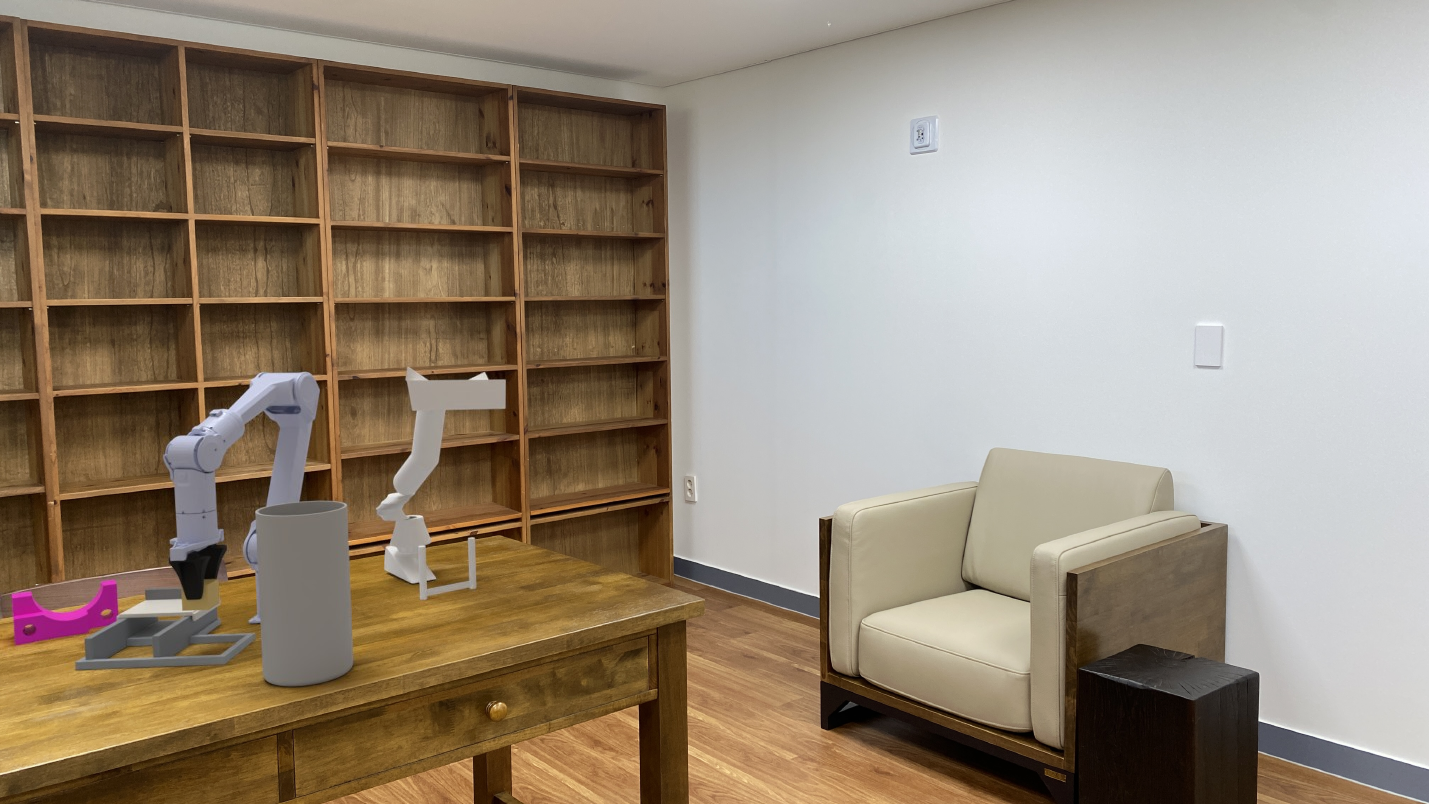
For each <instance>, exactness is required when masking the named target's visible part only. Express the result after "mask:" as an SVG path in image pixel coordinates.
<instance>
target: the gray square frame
mask: <svg viewBox="0 0 1429 804" xmlns="http://www.w3.org/2000/svg"><path fill="white" fill-rule="evenodd" d="M221 622H222V621H221V618H218V606H217V607H216V608H214V609H213V610H211V611H210V612H208V613H207V614H205V615H204V616H202V617H200V618H199V619H197V620H196V621H193V618H192V616H182V617H181V618H179V619H163V620H162V619H161V620H159V617H136V618H121V619H119V620H118V621H116V622H114V623H112V624H110V625H109V626H104V627H103V628H101V629H99V630H98V631H96V632H93V633H92V634H90V635H88V636H87V637H84V640H83V641H84V653H85V654H84V655H85V656H83V657H82V658H79V659H78V660H77V661H74V667H75V671H78V670H79V671H80V670H84V671H85V670H104V669H105V670H106V669H107V670H108V669H133V668H134V669H137V668H157V667H158V668H161V667H162V668H163V667H186V666H187V667H189V666H190V667H192V666H193V667H194V666H213V665H214V666H216V665H218V666H219V665H226V664H227V663H228V662H230V661H231V660H232V659H233V658H235V657H236V656H237V655H238V654H240V652H242V651H243V650H245V648H246V647H248V646H249V645H250V644H252V643H253V642H254V641H255V640H256V633H255V632H250V633H249V632H247V633H245V632H242V633H216V634H215V633H214V634H213V633H211V634H209V633H210V632H212V631H214V629H216V628H218V627H219V626H221ZM221 643H222V644H223V643H234V644H232V645H231V646H230V647H229V648H227V649H226V650H225V651H224V652H222V653H221V654H209V655H205V654H204V655H203V654H202V655H180V656H179V655H178V656H176V654H178V653H179V652H182V650H184V649H185V648H187V647H188V646H190V645H200V644H221ZM144 646H145V647H148V646H151V647H152V656H153V657H150V656H149V657H127V658H126V657H125V658H124V657H123V658H110V657H112V656H114V655H115V654H117V653H119V652H121V651H122V650H123V649H125V648H127V647H144Z"/></svg>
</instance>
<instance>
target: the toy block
mask: <svg viewBox="0 0 1429 804" xmlns="http://www.w3.org/2000/svg"><path fill="white" fill-rule="evenodd" d="M11 602H12V603H11V604H12V618H13V619H12V620H13V634H14V645H15V646H20V645H25V644H27V645H28V644H32V643H36V642H41V641H42V642H43V641H47V640H51V639H52V640H53V639H59V638H65V637H71V636H76V635H83V634H89V633H90V629H96V628H102V627H103V628H104V627H107V626H109V625H110V624H112V623H114V622H116V621H117V616H118V615H119V598H118V583H117V582H116V580H115V579H111V580H110V579H109V580H102V581H101V582H100V587H99V590H98V592H97V593H96V595H95V597H93V598H92V599H91V601H89V602H88V603H87V604H86V605H84V606H83V607H80V608H78V609H75V610H71V611H66V612H58V611H53V610H49V609H46V608H44V607H43V606H41V605H40V604H39V603H38V601H36V600H35V599H34V597H33V594H32V591H31V590H30V591H22V592H16V593H11ZM106 610H109V611H110V612H109V613H107V614H105V615H103V614H102V613H103V612H104V611H106Z"/></svg>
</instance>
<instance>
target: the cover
mask: <svg viewBox="0 0 1429 804" xmlns="http://www.w3.org/2000/svg"><path fill="white" fill-rule="evenodd" d="M144 596H145V600H144V601H141V602H140V603H138V604H135V605H134V606H131V607H130V608H128V609H126V610H125V611H123V612H121V613H118V616H117V621H118V620H119V619H121V618H136V617H158V618H159V617H161V618H162V617H164V618H165V617H184V616H192V618H193V621H196V620H197V619H199V618H200V617H202V616H204V615H205V614H207V613H208V612H210V611H211V610H213V609H214V608H216V607H217V608H218V607H219V606H220V605H221V604H222V603H221V597H219V602H220V603H219V604H218V605H216V606H214V607H213V608H211V609H209V610H191V611H182V593H181V586H179V587H178V586H177V587H176V586H175V587H148V588H146V589H144Z"/></svg>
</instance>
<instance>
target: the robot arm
mask: <svg viewBox="0 0 1429 804" xmlns="http://www.w3.org/2000/svg"><path fill="white" fill-rule="evenodd" d="M320 391H321V390H320V386H319V385H318V383H317V381H316V378H315V377H314V375H313V374H312V373H310V372H307V371H302V372H268V371H263V372H260V373H257V375H256V376H255V377H254V378H251V379H250V382H249V388H248V389H247V390H245V392H244V393H243V394H242V395H241V396H240V398H239V399H237V400H236V401H235V402H234V403H233V404H232V405H231V406H230V407H229V409H227V408H226V409H225V408H221V409H220V408H219V409H213V410H211V411H209V416H208V417H207V418H205V419H204V420H203V421H202V422H200V424H198V425H195V426H194V427H192V429H191V431H190V432H188V434H187V435H178V436H176V437H174V438H173V439H172V440H170V442H169V443H168V444H167V445H166V448H165V451H164V452H165V454H163V456H162V459H163V462H164V465H165V466H166V468H167V469H168V471H169V477H170V478H169V479H170V480H171V482H172V483H173V484H174V500H175V502H174V503H175V519H176V520H175V521H176V522H175V523H176V537H174V538H171V539H169V545H173V546H172V547H171V548H169V557H168V564H169V565H170V567H172V569H173V571H174V572H175V573H176V575H177V577H178V579H179V582H180V584H181V585H180V586H182V588H183V591H184V594H185V597H186V599H187V600H200V599H202V595H203V589H204V579H218V575H219V571H220V566H221V564H222V561H223V559H224V556H225V554H226V553H227V551H228V546H227V544H217V543H220V542H221V543H222V542H223V541H225V537H224V536H225V535H224V529H223V528H220V529H219V527H218V512H217V510H218V509H217V491H216V470H218V469H219V468H220V466H221V465H222V462H223V459H224V455H225V454H227V450H228V449H229V448H230V447H232V445H234V444H235V443H236V442H237V441H238V440H240V438H242V437H243V436H244V434H245V431H246V427H245V426H246V424H247V423H249V422H250V421H251V420H253V419H254V418H256V416H258V415H259V414H260V413H262V412H264V413H265V414H266V415H267V417H269V419H270V420H271V421H274V422H276V424H277V425H278V427H279V432H278V437H277V444H276V448H275V455H274V458H273V459H274V460H273V466H272V471H271V477H270V484H269V489H268V494H267V499H266V500H267V501H266V505H265V507H267V506H272V505H278V504H284V503H293V502H300V499H301V494H302V488H303V482H304V476H305V475H304V474H305V471H306V470H305V469H306V463H307V457H308V451H309V445H310V441H311V440H310V439H311V433H312V428H313V421H314V420H316V415H317V409H318V404H319V398H320ZM248 531H249V532H248V534H247V536H246V538H245V539H244V543H243V546H242V554H243V558H244V560H245V562H246V563H247V564H249V565H250V567H251V571H255V591H256V592H255V593H256V613H257V614H255V615H254V616H253V617H252V618H250V619H249V620H248V624H261V623H260V601H259V580H258V558H257V537H256V519H254V520H253V521H251V523H250V528H249V530H248Z"/></svg>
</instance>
